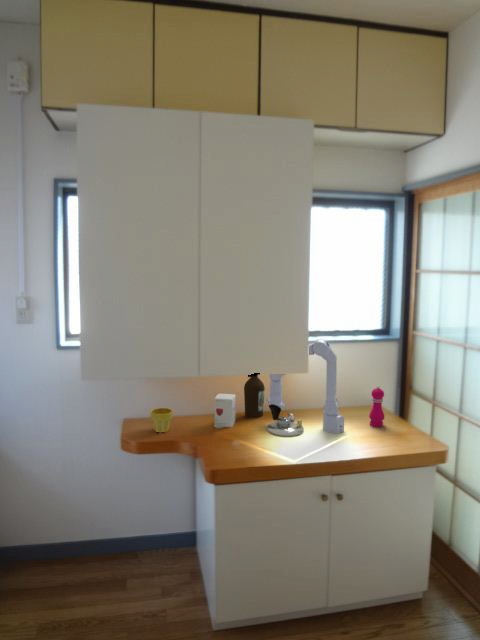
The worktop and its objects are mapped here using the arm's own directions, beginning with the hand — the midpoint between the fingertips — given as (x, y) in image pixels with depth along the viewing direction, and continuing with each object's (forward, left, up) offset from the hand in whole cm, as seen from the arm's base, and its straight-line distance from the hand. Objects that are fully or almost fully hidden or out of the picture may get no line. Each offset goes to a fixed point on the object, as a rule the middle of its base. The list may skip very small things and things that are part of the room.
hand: (275, 419), depth 227 cm
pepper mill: (-34, -37, -3) cm, 50 cm away
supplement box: (+18, +17, -4) cm, 25 cm away
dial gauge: (-3, -7, -3) cm, 8 cm away
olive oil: (+17, -3, -3) cm, 17 cm away
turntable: (-9, +3, -2) cm, 10 cm away
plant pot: (+34, +43, -3) cm, 55 cm away
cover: (-7, +2, -1) cm, 7 cm away
